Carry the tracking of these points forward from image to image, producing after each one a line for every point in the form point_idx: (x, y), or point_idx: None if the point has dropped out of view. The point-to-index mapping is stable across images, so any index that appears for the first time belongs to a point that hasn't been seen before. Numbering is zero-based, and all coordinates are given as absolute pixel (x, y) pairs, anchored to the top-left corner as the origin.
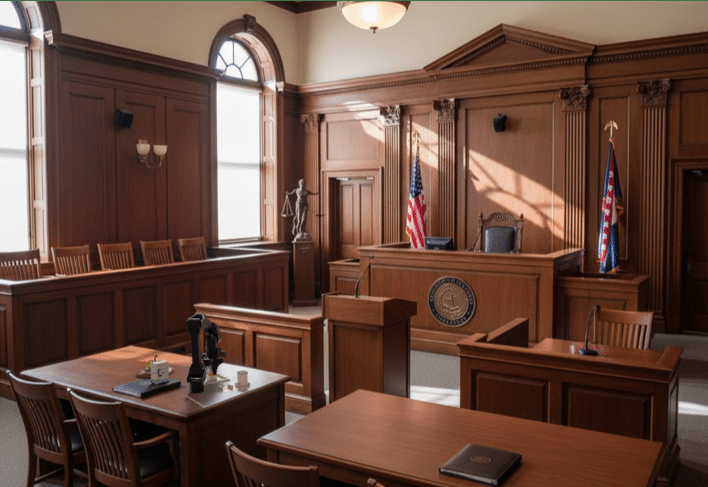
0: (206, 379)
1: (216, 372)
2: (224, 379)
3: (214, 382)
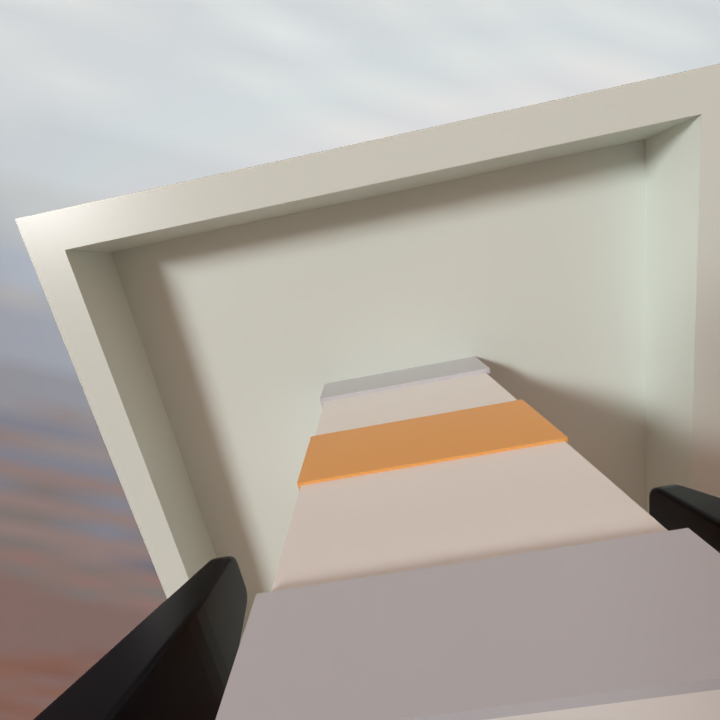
0: (278, 504)
1: (571, 451)
2: (708, 229)
3: (706, 468)
